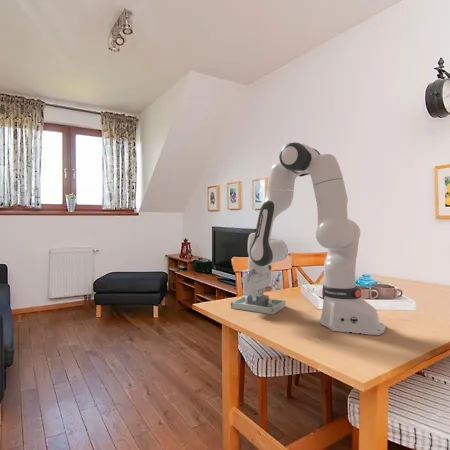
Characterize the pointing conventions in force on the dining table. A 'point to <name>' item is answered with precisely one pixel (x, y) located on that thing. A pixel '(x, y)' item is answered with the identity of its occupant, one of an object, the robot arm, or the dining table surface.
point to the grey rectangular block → (259, 300)
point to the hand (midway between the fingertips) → (258, 299)
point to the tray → (269, 309)
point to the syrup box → (244, 283)
